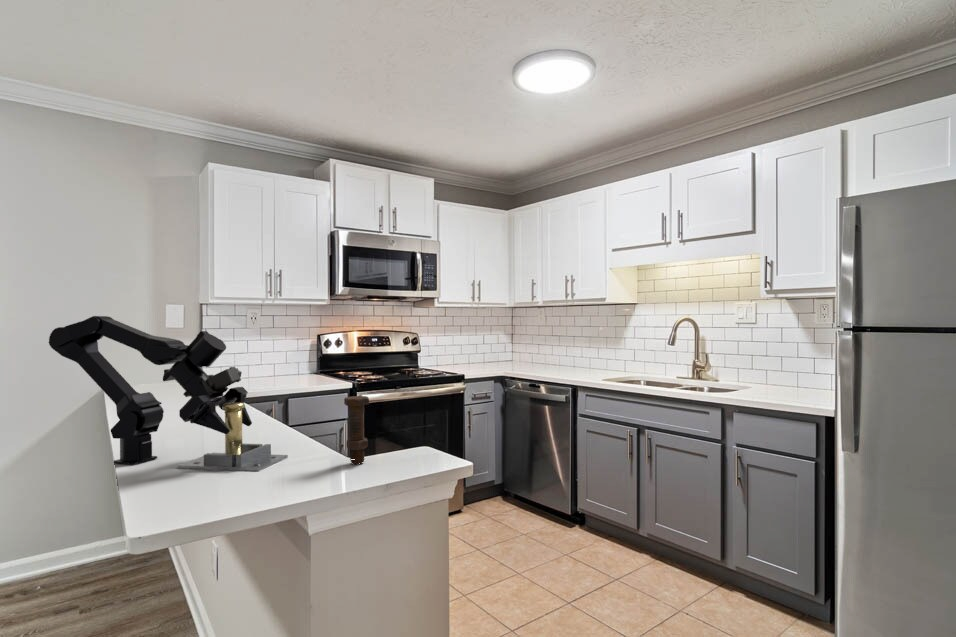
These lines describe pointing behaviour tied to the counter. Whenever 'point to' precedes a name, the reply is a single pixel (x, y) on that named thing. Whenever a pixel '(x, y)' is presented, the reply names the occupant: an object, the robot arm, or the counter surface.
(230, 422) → the pin
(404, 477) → the counter surface
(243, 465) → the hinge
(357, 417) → the bolt
